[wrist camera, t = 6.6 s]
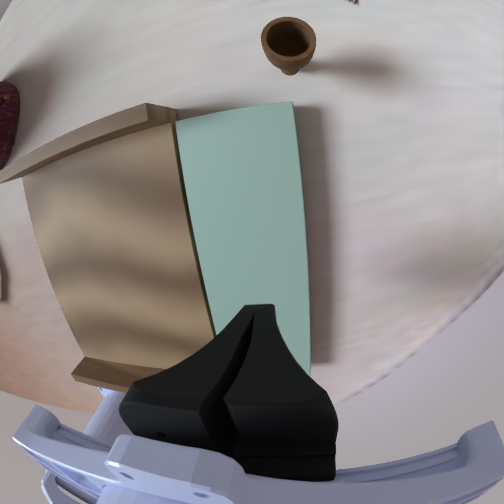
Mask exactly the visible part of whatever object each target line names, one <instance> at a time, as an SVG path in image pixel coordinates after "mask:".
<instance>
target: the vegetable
mask: <svg viewBox="0 0 504 504" xmlns="http://www.w3.org/2000/svg"><path fill="white" fill-rule="evenodd" d="M19 110H20V101H19V93H18V90H17V89H16V87H15V86H14V85H12V84H10V83H7V82H0V170H1V169H2V168H3V166H4V165H5V163H6V161H7V160H8V158H9V156H10V153H11V150H12V147H13V145H14V143H15V142H14V141H15V135H16V131H17V125H18V119H19Z"/></svg>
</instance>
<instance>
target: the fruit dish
mask: <svg viewBox="0 0 504 504" xmlns="http://www.w3.org/2000/svg"><path fill="white" fill-rule="evenodd" d="M1 282H2V273H1V269H0V300H1Z"/></svg>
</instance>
